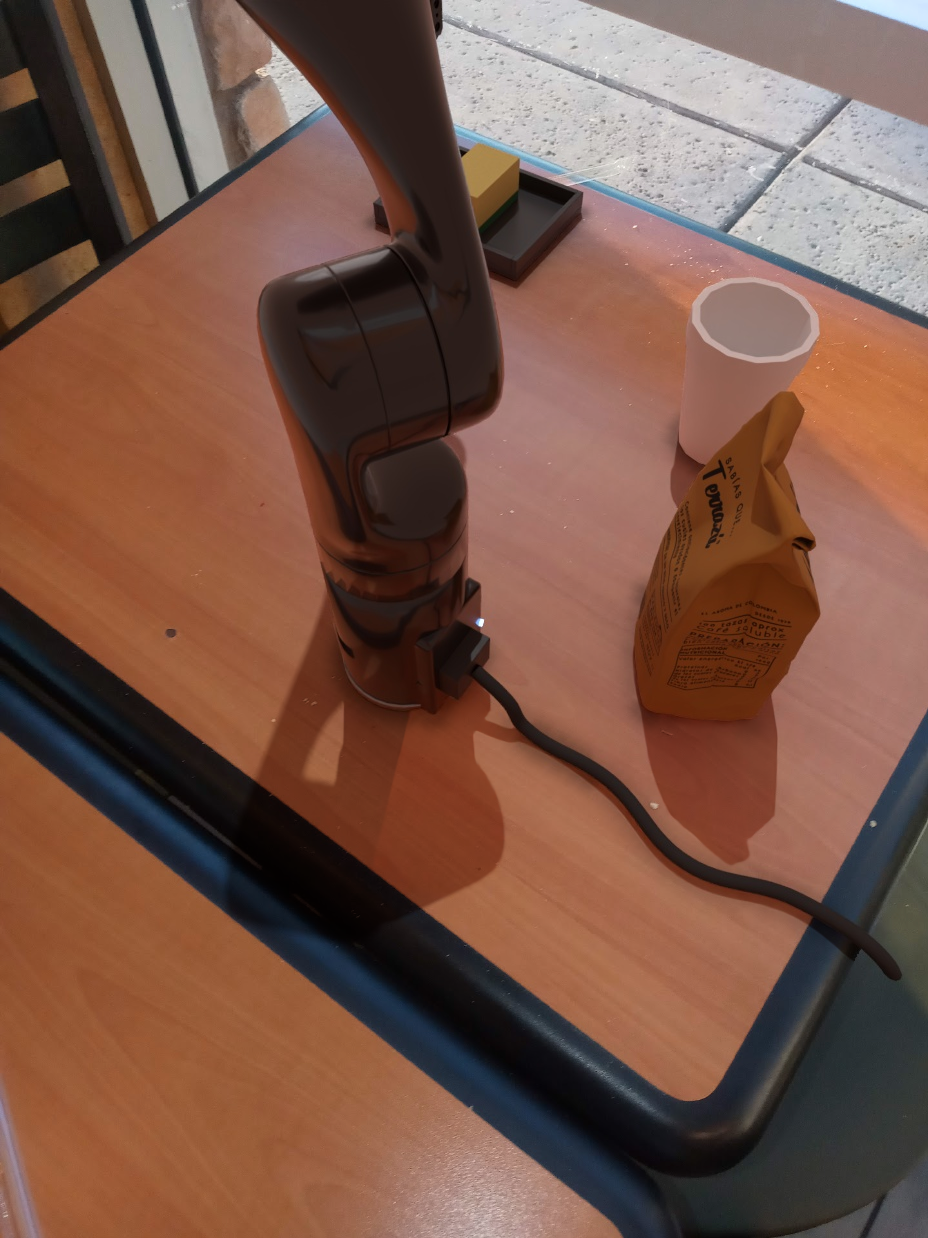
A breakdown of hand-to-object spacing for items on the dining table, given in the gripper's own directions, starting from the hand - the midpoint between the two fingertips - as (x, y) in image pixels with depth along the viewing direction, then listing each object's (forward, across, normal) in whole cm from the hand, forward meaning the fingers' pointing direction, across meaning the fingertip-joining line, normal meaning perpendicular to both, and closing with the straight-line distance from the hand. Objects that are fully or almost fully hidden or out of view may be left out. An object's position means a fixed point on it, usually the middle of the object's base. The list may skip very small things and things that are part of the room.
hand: (383, 28), depth 72 cm
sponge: (+21, +1, +11) cm, 24 cm away
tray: (+22, +2, +11) cm, 25 cm away
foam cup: (+23, +36, -3) cm, 43 cm away
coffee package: (+23, +44, -23) cm, 55 cm away
